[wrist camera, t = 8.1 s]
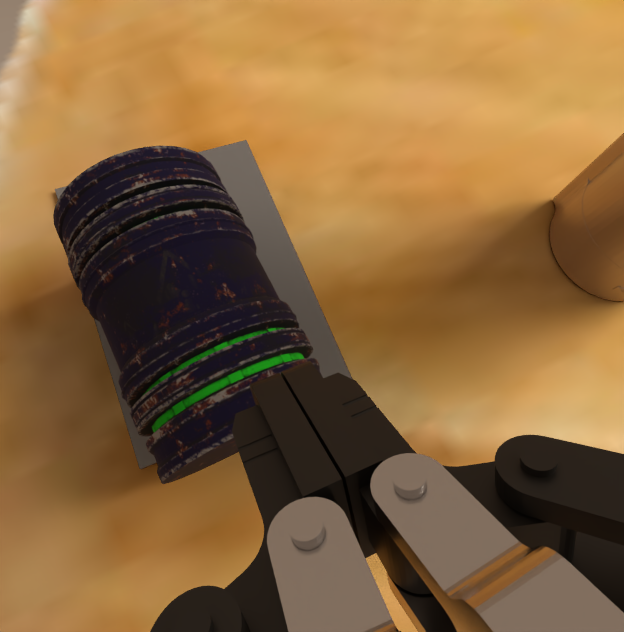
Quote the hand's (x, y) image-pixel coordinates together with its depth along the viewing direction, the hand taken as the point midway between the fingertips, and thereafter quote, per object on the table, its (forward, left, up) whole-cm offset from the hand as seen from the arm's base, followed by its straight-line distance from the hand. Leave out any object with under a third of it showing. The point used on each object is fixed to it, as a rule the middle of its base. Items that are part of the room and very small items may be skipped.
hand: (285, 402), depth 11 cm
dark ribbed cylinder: (0, -1, -14) cm, 14 cm away
